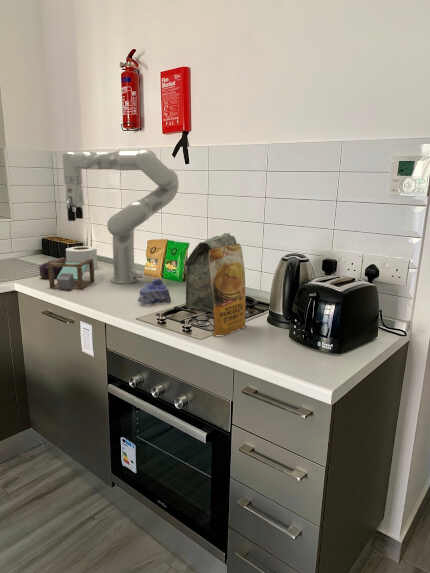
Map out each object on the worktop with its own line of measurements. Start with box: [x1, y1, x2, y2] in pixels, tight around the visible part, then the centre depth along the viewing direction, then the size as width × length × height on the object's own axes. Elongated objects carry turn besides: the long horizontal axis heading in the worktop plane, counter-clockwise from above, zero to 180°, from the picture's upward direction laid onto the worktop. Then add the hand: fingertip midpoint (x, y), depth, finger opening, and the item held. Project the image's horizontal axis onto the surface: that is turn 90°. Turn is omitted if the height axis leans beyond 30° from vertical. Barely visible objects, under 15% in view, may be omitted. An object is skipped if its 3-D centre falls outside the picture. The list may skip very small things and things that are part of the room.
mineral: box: [137, 278, 172, 306], centre depth 173 cm, size 14×10×10 cm
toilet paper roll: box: [65, 245, 99, 272], centre depth 230 cm, size 16×15×11 cm
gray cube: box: [56, 273, 75, 290], centre depth 190 cm, size 5×5×5 cm
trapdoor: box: [56, 262, 88, 281], centre depth 196 cm, size 10×11×1 cm
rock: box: [39, 258, 62, 279], centre depth 210 cm, size 12×9×10 cm
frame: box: [48, 257, 95, 291], centre depth 196 cm, size 14×14×11 cm
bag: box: [184, 232, 238, 314], centre depth 169 cm, size 22×16×27 cm
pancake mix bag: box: [208, 243, 246, 337], centre depth 141 cm, size 7×19×28 cm, turn 138°
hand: (75, 219), depth 199 cm, fingers open, 9 cm apart
